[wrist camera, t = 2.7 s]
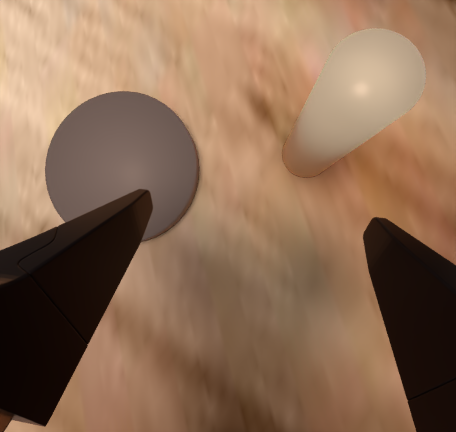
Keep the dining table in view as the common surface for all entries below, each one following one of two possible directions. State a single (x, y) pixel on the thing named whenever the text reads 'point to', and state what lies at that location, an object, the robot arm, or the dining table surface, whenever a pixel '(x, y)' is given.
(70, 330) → the robot arm
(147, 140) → the grey-brown round disc
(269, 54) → the dining table surface
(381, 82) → the canister
